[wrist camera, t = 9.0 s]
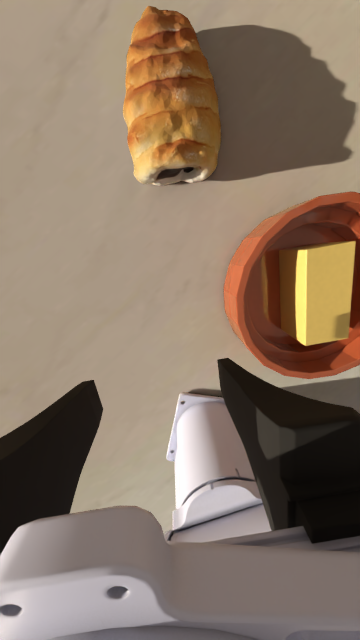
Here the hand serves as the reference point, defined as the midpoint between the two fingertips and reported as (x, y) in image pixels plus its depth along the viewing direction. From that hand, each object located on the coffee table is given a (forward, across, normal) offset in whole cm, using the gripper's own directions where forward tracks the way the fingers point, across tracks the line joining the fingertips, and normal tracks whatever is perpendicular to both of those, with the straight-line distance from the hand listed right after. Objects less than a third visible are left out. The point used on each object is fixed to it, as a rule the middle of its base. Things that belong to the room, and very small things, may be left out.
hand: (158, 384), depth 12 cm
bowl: (+9, -13, -2) cm, 16 cm away
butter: (+9, -13, -2) cm, 16 cm away
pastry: (+10, -3, -16) cm, 19 cm away
